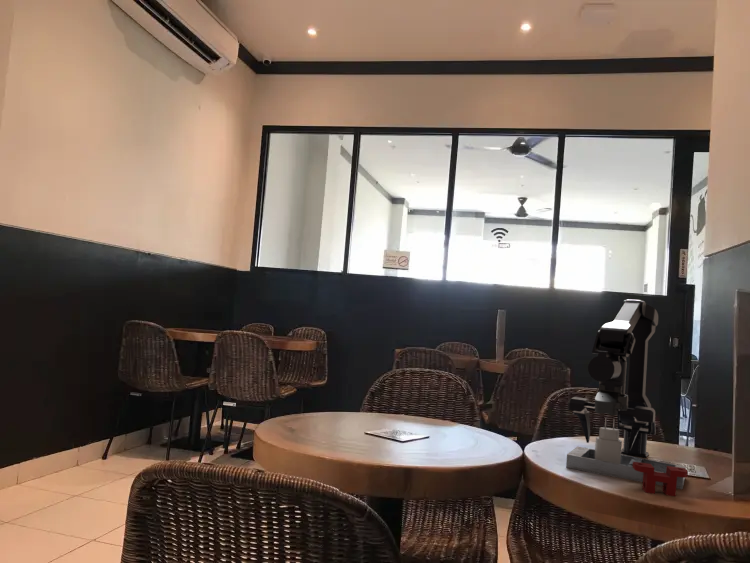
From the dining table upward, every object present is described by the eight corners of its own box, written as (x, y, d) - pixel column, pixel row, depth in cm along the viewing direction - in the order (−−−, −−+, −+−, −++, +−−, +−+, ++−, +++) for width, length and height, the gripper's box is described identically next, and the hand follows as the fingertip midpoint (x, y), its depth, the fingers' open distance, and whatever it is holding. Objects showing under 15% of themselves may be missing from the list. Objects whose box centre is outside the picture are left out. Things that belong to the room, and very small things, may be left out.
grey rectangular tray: (576, 458, 145) (577, 446, 145) (684, 479, 133) (685, 466, 133) (566, 467, 135) (566, 454, 135) (682, 491, 123) (683, 476, 123)
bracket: (689, 472, 116) (636, 465, 118) (687, 500, 116) (634, 493, 118) (684, 468, 119) (632, 461, 121) (682, 495, 119) (630, 488, 121)
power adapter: (593, 466, 138) (596, 416, 138) (617, 469, 137) (620, 418, 138) (596, 470, 135) (599, 418, 135) (620, 473, 134) (623, 420, 135)
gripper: (564, 376, 135) (559, 444, 134) (652, 387, 125) (648, 460, 124) (574, 374, 144) (570, 437, 144) (657, 384, 135) (653, 451, 134)
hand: (608, 446), depth 136 cm, fingers open, 9 cm apart
